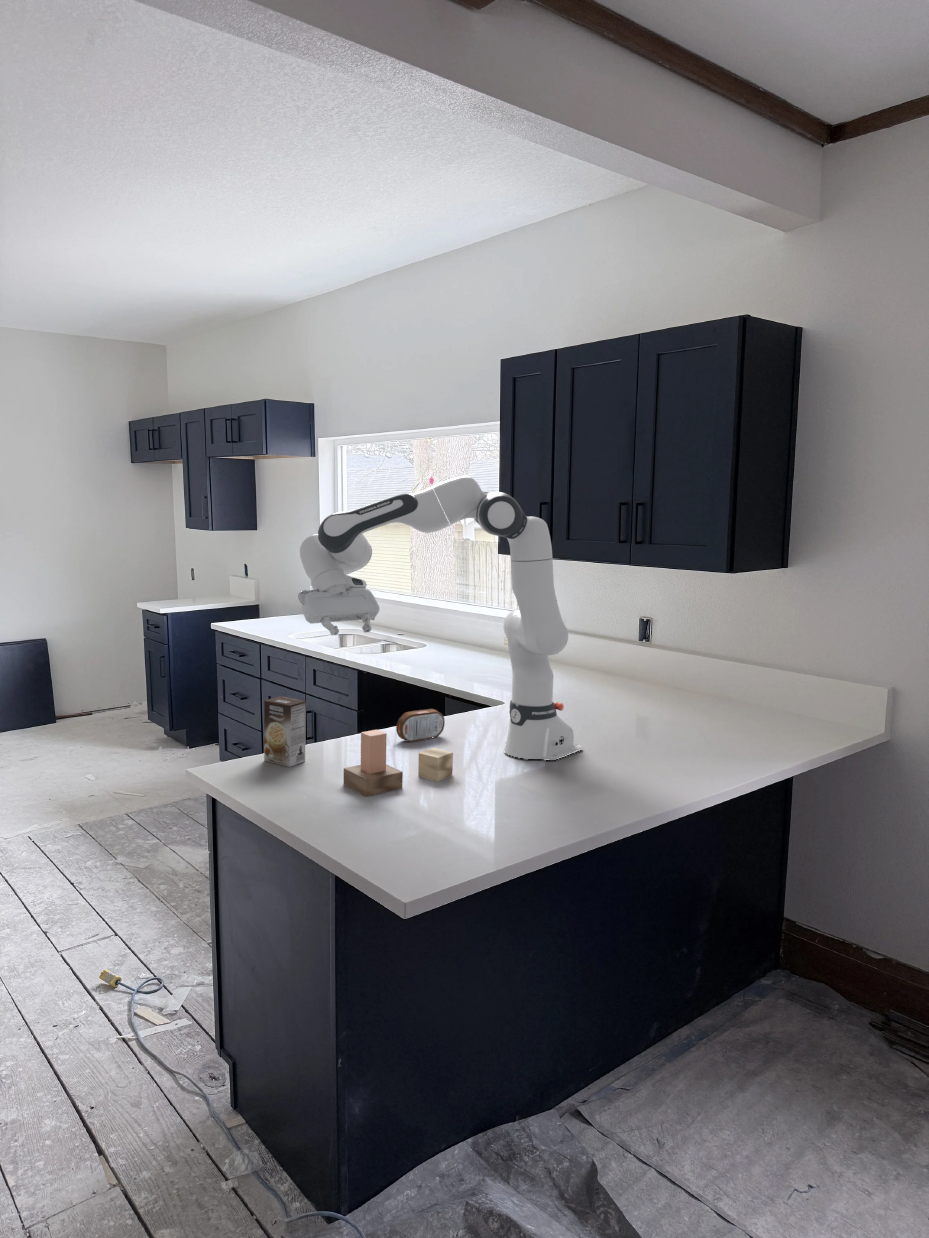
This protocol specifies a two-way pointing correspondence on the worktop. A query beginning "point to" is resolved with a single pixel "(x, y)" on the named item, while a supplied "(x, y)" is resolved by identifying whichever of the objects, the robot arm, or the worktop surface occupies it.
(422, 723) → the tin
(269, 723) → the coffee box
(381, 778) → the walnut block
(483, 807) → the worktop surface
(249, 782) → the worktop surface
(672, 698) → the worktop surface
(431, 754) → the oak cube
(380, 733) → the terracotta block
